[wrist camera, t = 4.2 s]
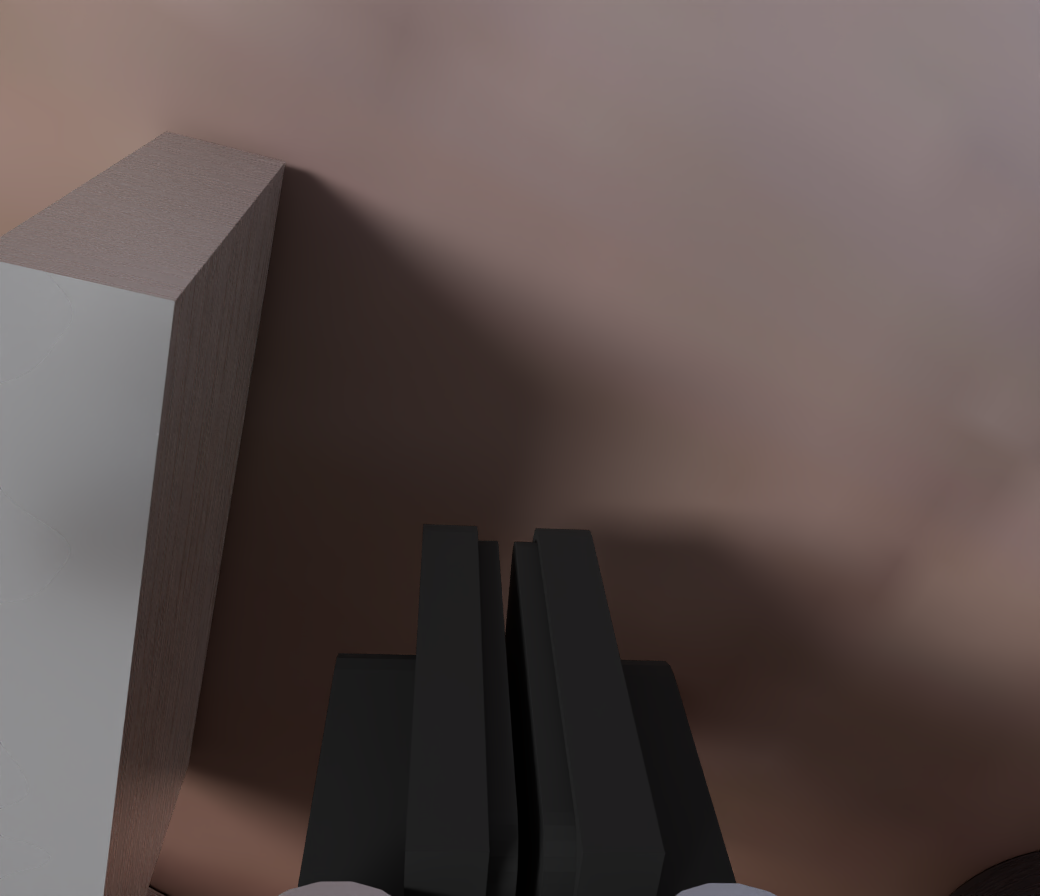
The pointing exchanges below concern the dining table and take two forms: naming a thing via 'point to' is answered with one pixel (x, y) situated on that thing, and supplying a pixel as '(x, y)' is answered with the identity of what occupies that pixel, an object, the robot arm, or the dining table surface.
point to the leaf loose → (118, 496)
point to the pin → (1006, 879)
